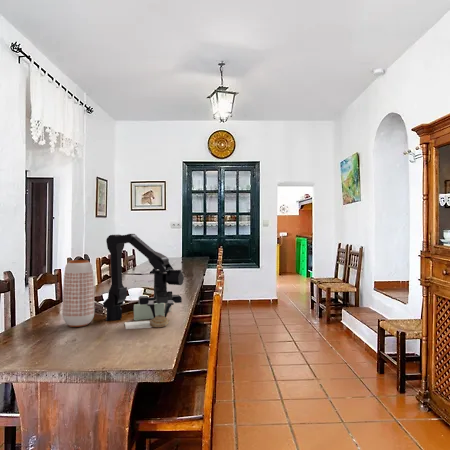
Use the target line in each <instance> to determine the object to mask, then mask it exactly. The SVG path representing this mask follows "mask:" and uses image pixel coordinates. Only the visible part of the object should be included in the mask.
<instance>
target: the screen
mask: <svg viewBox="0 0 450 450" xmlns="http://www.w3.org/2000/svg"><path fill="white" fill-rule="evenodd" d="M164 304H165V303H160V304H158V303H157V302H154V308H155V317H156V316H158V315H162V316H164ZM152 319H154V317H153V314H152V310H151V308H150V306H147V304H143V305H140V304H139V303H137V304H133V321H134V322H138V321H144V320H152Z"/></svg>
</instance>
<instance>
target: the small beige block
mask: <svg viewBox="0 0 450 450" xmlns="http://www.w3.org/2000/svg"><path fill="white" fill-rule="evenodd" d="M164 313H165V303H164ZM168 313H172V305H171V306H170V308H169V310H168Z"/></svg>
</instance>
